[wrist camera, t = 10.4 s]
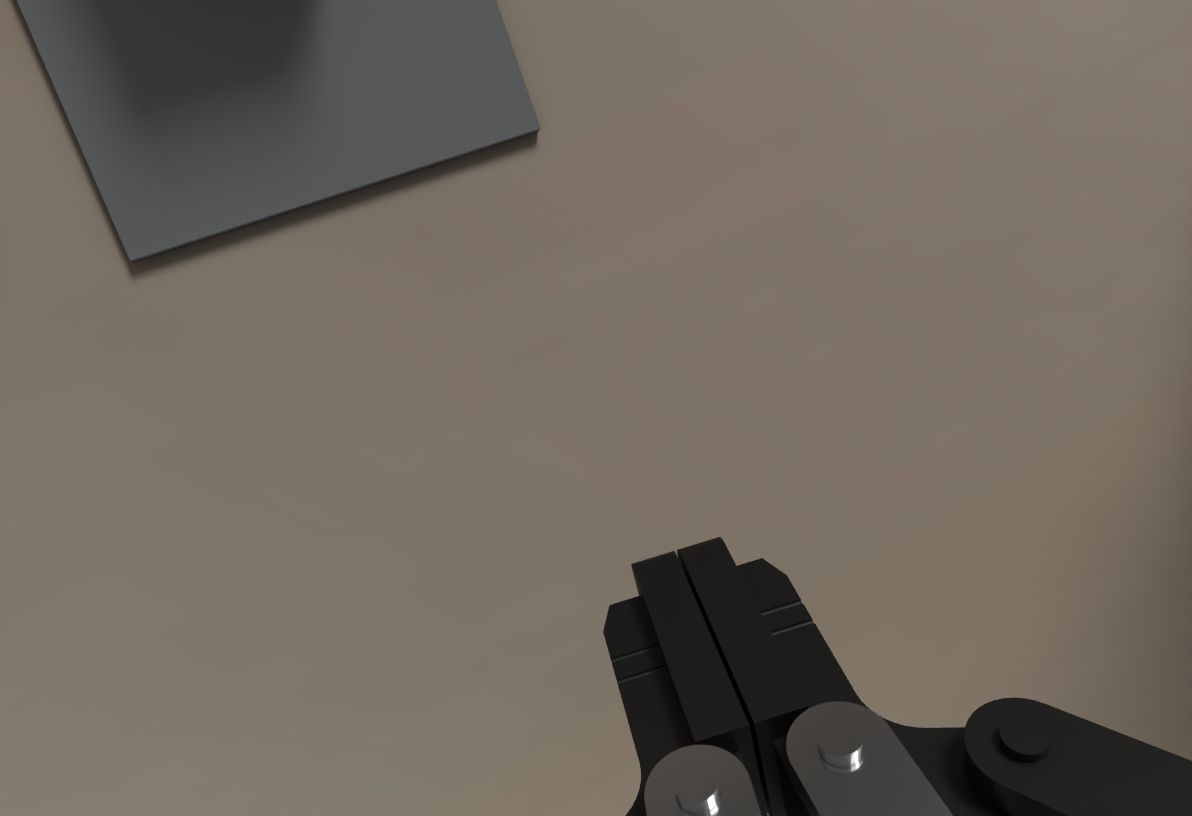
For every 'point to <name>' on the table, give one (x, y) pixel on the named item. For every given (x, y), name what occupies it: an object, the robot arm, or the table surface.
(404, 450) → the table surface
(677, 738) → the robot arm
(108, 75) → the mat
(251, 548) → the table surface
